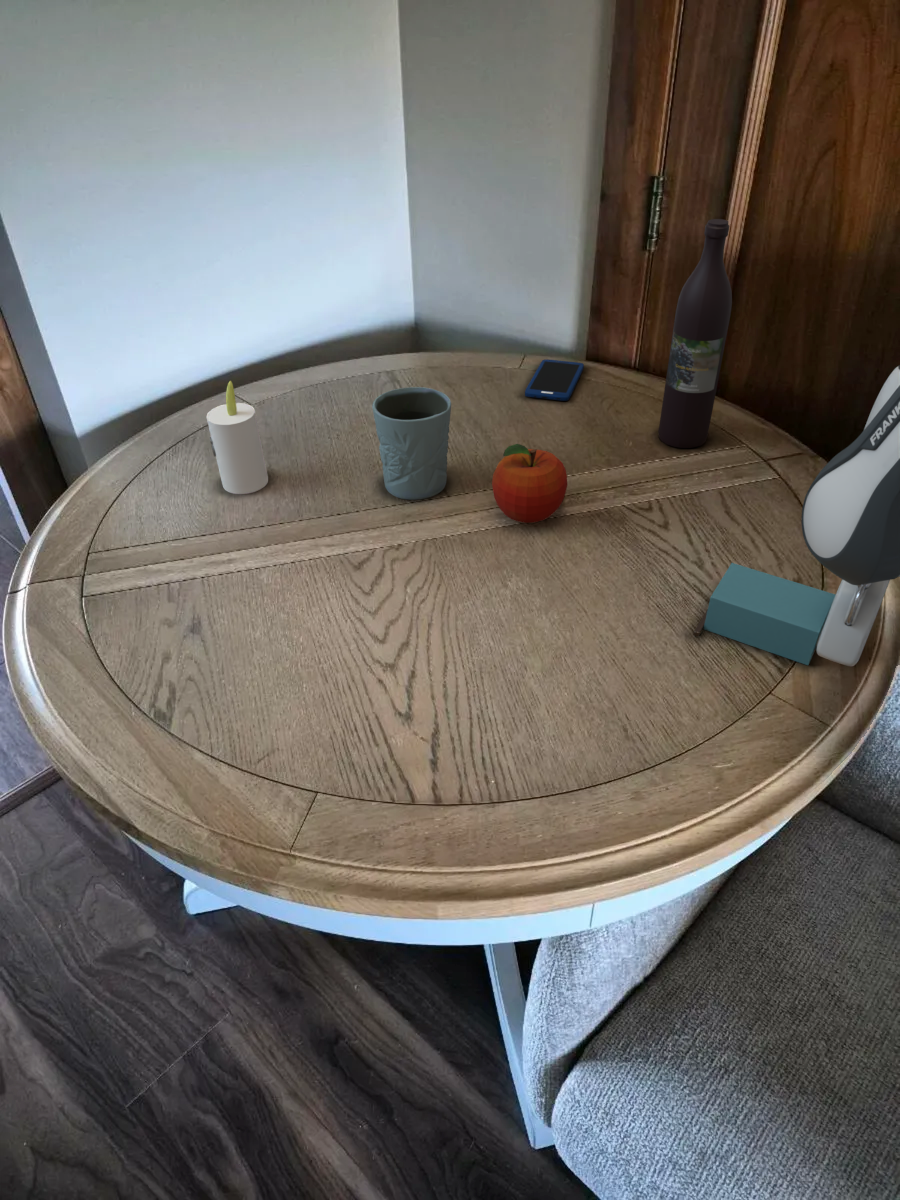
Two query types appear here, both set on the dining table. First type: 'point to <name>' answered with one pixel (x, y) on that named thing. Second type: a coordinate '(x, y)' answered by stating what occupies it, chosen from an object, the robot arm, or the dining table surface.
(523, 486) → the fruit
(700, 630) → the stop strip
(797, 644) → the teal labeled box
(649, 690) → the dining table surface
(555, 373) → the cell phone
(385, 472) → the blue grey cup
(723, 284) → the wine bottle
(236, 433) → the candle
